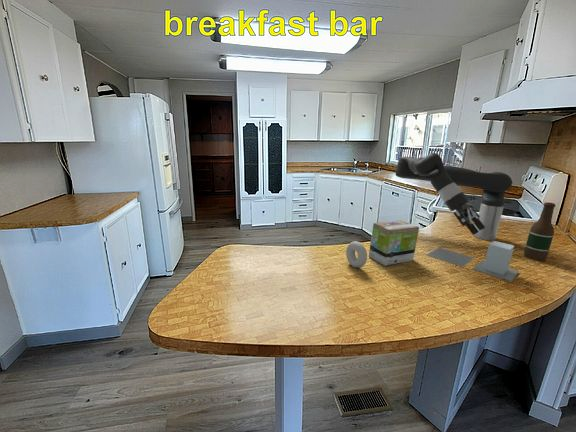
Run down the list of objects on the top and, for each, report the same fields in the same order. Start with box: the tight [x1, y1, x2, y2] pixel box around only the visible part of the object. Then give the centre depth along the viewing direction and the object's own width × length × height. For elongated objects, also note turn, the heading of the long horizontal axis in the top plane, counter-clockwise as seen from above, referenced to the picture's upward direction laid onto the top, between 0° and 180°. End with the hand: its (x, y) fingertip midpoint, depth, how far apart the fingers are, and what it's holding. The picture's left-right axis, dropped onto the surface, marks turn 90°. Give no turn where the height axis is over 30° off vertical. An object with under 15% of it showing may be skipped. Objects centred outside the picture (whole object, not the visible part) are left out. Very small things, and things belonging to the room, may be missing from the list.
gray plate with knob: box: [472, 260, 520, 283], centre depth 107 cm, size 12×12×4 cm
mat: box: [425, 247, 474, 268], centre depth 119 cm, size 14×14×1 cm
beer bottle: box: [523, 201, 556, 262], centre depth 119 cm, size 8×8×24 cm
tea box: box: [368, 219, 420, 267], centre depth 114 cm, size 15×10×15 cm, turn 115°
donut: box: [345, 240, 368, 269], centre depth 106 cm, size 10×4×10 cm, turn 26°
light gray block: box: [483, 240, 515, 275], centre depth 106 cm, size 6×6×10 cm
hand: (479, 231), depth 109 cm, fingers open, 8 cm apart
